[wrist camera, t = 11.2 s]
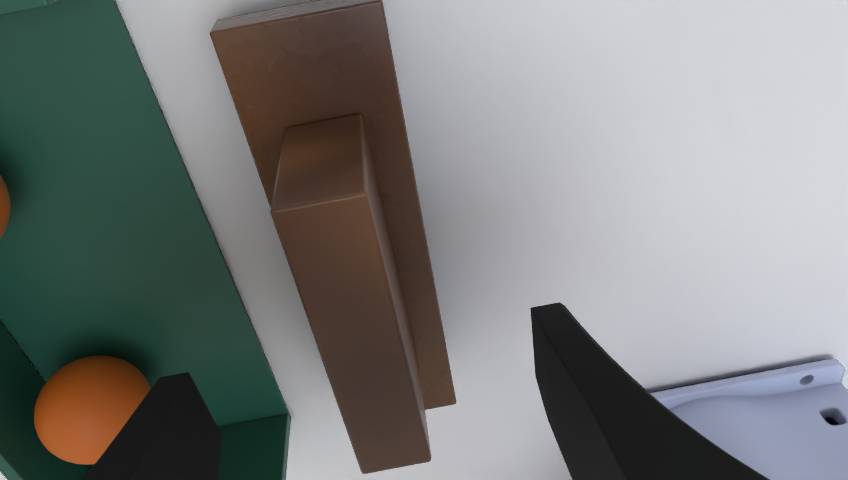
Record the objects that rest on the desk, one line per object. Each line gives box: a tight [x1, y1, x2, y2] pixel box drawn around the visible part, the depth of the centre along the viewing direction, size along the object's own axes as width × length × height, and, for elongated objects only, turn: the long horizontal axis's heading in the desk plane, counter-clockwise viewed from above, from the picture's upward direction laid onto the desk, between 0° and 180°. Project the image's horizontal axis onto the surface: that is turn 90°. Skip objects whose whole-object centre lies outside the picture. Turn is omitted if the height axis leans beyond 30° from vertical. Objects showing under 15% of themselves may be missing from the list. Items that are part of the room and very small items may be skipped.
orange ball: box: [34, 355, 151, 465], centre depth 19 cm, size 3×3×3 cm
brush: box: [210, 0, 456, 474], centre depth 16 cm, size 4×13×6 cm, turn 9°
